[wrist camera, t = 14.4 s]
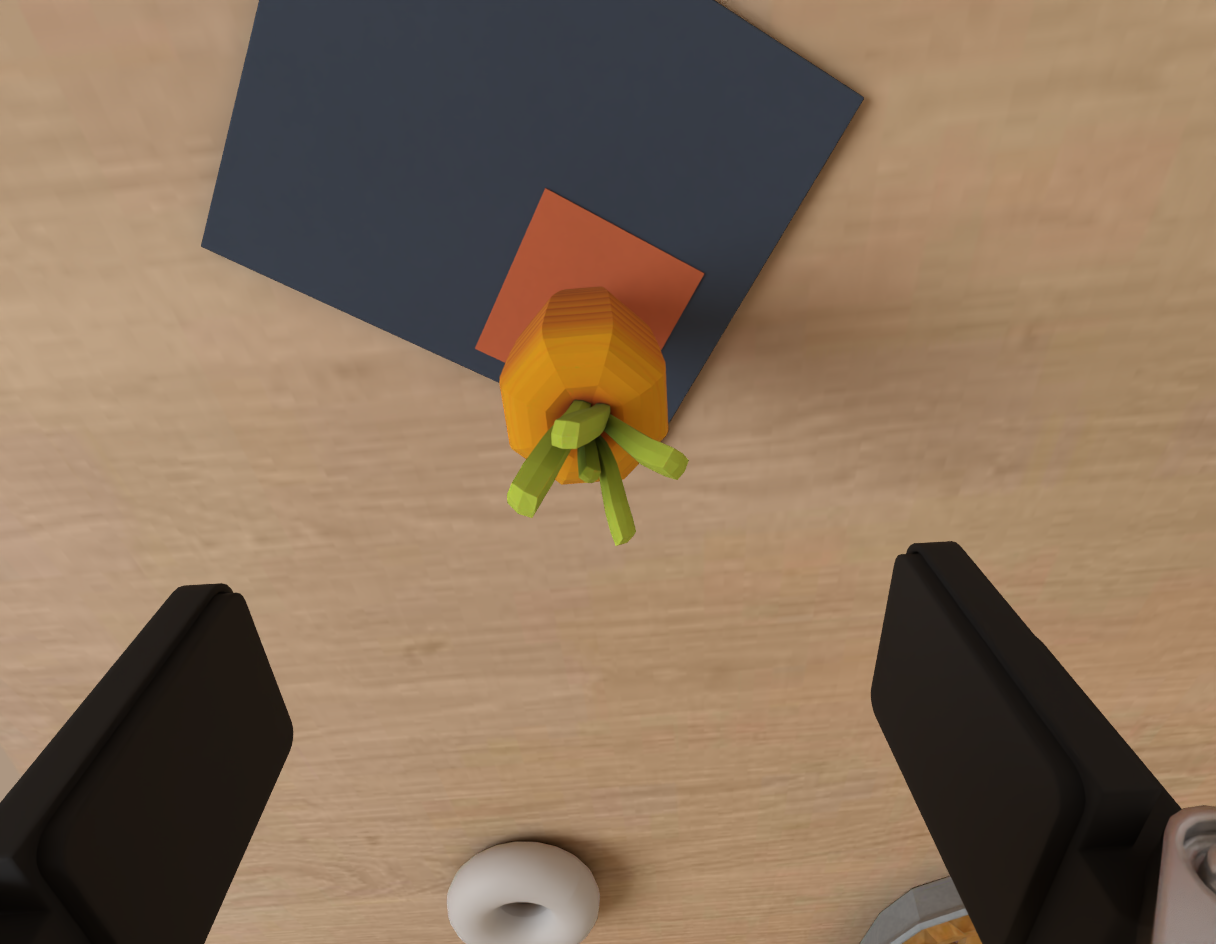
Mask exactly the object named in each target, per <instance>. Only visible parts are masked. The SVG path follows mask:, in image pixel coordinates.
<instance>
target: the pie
mask: <svg viewBox="0 0 1216 944" xmlns="http://www.w3.org/2000/svg"><path fill="white" fill-rule="evenodd" d="M860 944H982V942H981V940H980V938H979V936H978V934H977V932H976V930H975V928H974V926H973V923H972V921H971V919H970V917H969V915H968V913H967V911H966V908H965V906H964V904H963V902H962V900H961V898H960V896H959V894H958V891H957V889H956V887H955V885H954V883H953V881H952V879H951V876H950V877H946V878H943V879H940V880H937V881H934V882H931V883H928V884H925V885H922V886H919V887H916V888H913V889H911V890H910V891H909V892H907V893H906V894H905V895H903V896H902V897H901V898H899V899H898V900H897V901H895V902H894V903H893V904H891V905H890V906H889V907H887V908H886V909H885V910H883V911H882V912H881V913H880V914H879V915H878V917H877V918H876V920H875V921H874V923H873V924H872V926H871V927H870V929H869V930H868V932H867V933H866V935H865V937H864V938H863V940H862V941H861V943H860Z"/></svg>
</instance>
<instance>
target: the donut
mask: <svg viewBox="0 0 1216 944" xmlns="http://www.w3.org/2000/svg"><path fill="white" fill-rule="evenodd" d="M523 902H529V903H523ZM599 902H600V893H599V888H598V886H597V884H596V881H595V879H594V877H593V875H592V873H591V871H590V869H589V868H588V867H587V866H586V865H585V864H584V863H583V862H581V861H580V860H579V859H578V858H577V857H576V856H574V855H573V854H571V853H569V852H567V851H565V850H563V849H561V848H559V847H557V846H553V845H548V844H544V843H539V842H511V843H505V844H500V845H495V846H493V847H491V848H488V849H486V850H484V851H482V852H479V853H478V854H476V855H474V856H473V857H472V858H471V859H469V860H468V861H467V862H466V863H465V864H464V865H462V866H461V867H460V869H459V870H458V871H457V873H456V875H455V877H454V879H453V881H452V883H451V885H450V888H449V891H448V894H447V907H448V917H449V920H450V924H451V925H452V927H453V928H454V930H455V931H456V933H457V935H458V936H459V937H460V938H461V940H462V941H464V942H465V943H466V944H579V943H580V942H582V941H583V940H584V939H585V938H586V937H587V935H588V934H589V932H590V931H591V929H592V928H593V926H594V925H595V922H596V920H597V918H598V912H599Z"/></svg>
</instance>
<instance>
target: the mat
mask: <svg viewBox="0 0 1216 944" xmlns="http://www.w3.org/2000/svg"><path fill="white" fill-rule="evenodd" d="M863 99H864V97H863V96H861V95H860V94H858V93H857V92H855V91H853V90H852V89H850V88H849V87H847V86H846V85H844V84H843V83H841V82H840V81H838V80H837V79H835V78H833V77H832V76H830V75H829V74H827V73H826V72H824V71H823V70H821V69H820V68H818V67H816V66H815V65H813V64H812V63H810V62H809V61H807V60H806V59H804V58H803V57H801V56H799V55H798V54H796V53H795V52H793V51H792V50H790V49H789V48H787V47H786V46H784V45H782V44H781V43H779V42H778V41H776V40H775V39H773V38H772V37H770V36H769V35H767V34H765V33H764V32H762V31H761V30H759V29H758V28H756V27H755V26H753V25H752V24H750V23H749V22H747V21H745V20H744V19H742V18H741V17H739V16H738V15H736V14H735V13H733V12H732V11H730V10H728V9H727V8H725V7H724V6H722V5H721V4H719V3H718V2H716V1H715V0H259V3H258V8H257V12H256V16H255V20H254V25H253V29H252V33H251V37H250V41H249V46H248V50H247V54H246V58H245V63H244V67H243V71H242V75H241V79H240V84H239V88H238V92H237V96H236V101H235V105H234V109H233V113H232V117H231V122H230V126H229V130H228V134H227V139H226V143H225V147H224V151H223V155H222V160H221V164H220V168H219V172H218V177H217V181H216V185H215V189H214V193H213V198H212V202H211V206H210V210H209V215H208V219H207V223H206V227H205V231H204V236H203V240H202V244H201V246H202V247H203V248H205V249H208V250H210V251H212V252H214V253H216V254H218V255H221V256H223V257H225V258H227V259H229V260H232V261H234V262H236V263H238V264H240V265H243V266H245V267H247V268H249V269H251V270H253V271H256V272H258V273H260V274H262V275H264V276H267V277H269V278H271V279H273V280H275V281H278V282H280V283H282V284H284V285H286V286H288V287H291V288H293V289H295V290H297V291H299V292H302V293H304V294H306V295H308V296H310V297H313V298H315V299H317V300H319V301H321V302H323V303H326V304H328V305H330V306H332V307H334V308H337V309H339V310H341V311H343V312H345V313H348V314H350V315H352V316H354V317H356V318H358V319H361V320H363V321H365V322H367V323H369V324H372V325H374V326H376V327H378V328H380V329H383V330H385V331H387V332H389V333H391V334H394V335H396V336H398V337H400V338H402V339H404V340H407V341H409V342H411V343H413V344H415V345H418V346H420V347H422V348H424V349H426V350H429V351H431V352H433V353H435V354H437V355H439V356H442V357H444V358H446V359H448V360H450V361H453V362H455V363H457V364H459V365H461V366H464V367H466V368H468V369H470V370H472V371H474V372H477V373H479V374H481V375H483V376H485V377H488V378H490V379H492V380H494V381H496V382H499V381H500V375H501V373H502V370H503V368H504V365H505V363H506V360H507V358H508V356H509V354H510V352H511V350H512V348H513V346H514V344H515V342H516V340H517V338H518V337H519V336H520V335H521V333H522V332H523V331H524V330H525V328H526V327H527V326H528V325H529V323H530V322H531V321H532V320H533V318H534V317H535V316H536V315H537V314H538V312H539V311H540V310H541V309H542V307H543V306H544V305H545V304H546V302H547V301H548V300H549V299H550V297H551V296H552V295H554V294H555V293H556V292H558V291H561V290H565V289H576V288H587V287H599V286H601V287H604V288H605V289H607V290H608V291H609V292H610V293H611V294H612V295H614V296H615V297H616V298H617V299H618V300H619V301H621V302H622V303H623V304H624V305H625V306H627V307H628V308H629V309H630V310H631V311H632V312H634V313H635V314H636V315H637V316H638V317H639V318H641V319H642V320H643V321H644V322H645V323H646V324H647V325H648V326H649V327H650V328H651V330H652V332H653V334H654V336H655V338H656V340H657V342H658V345H659V347H660V350H661V353H662V355H663V358H664V360H665V364H666V387H667V409H668V424H669V422H670V421H671V419H672V417H673V416H674V414H675V412H676V411H677V409H678V407H679V406H680V404H681V402H682V401H683V399H684V397H685V396H686V394H687V392H688V391H689V389H690V387H691V386H692V384H693V382H694V381H695V379H696V377H697V376H698V374H699V372H700V371H701V369H702V367H703V366H704V364H705V362H706V361H707V359H708V357H709V356H710V354H711V352H712V351H713V349H714V347H715V346H716V344H717V343H718V341H719V339H720V338H721V336H722V334H723V333H724V331H725V329H726V328H727V326H728V324H729V323H730V321H731V319H732V318H733V316H734V314H735V313H736V311H737V309H738V308H739V306H740V304H741V303H742V301H743V299H744V298H745V296H746V294H747V293H748V291H749V289H750V288H751V286H752V284H753V283H754V281H755V279H756V278H757V276H758V274H759V273H760V271H761V269H762V268H763V266H764V264H765V263H766V261H767V259H768V258H769V256H770V254H771V253H772V251H773V249H774V248H775V246H776V244H777V243H778V241H779V239H780V238H781V236H782V234H783V233H784V231H785V229H786V228H787V226H788V224H789V223H790V221H791V219H792V218H793V216H794V214H795V213H796V211H797V209H798V208H799V206H800V204H801V203H802V201H803V199H804V198H805V196H806V194H807V193H808V191H809V189H810V188H811V186H812V184H813V183H814V181H815V179H816V178H817V176H818V174H819V173H820V171H821V169H822V168H823V166H824V164H825V163H826V161H827V159H828V158H829V156H830V154H831V153H832V151H833V149H834V148H835V146H836V144H837V143H838V141H839V139H840V138H841V136H842V134H843V133H844V131H845V129H846V128H847V126H848V124H849V123H850V121H851V119H852V118H853V116H854V114H855V113H856V111H857V109H858V108H859V106H860V104H861V103H862V101H863Z"/></svg>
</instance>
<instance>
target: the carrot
mask: <svg viewBox="0 0 1216 944" xmlns="http://www.w3.org/2000/svg"><path fill="white" fill-rule="evenodd" d="M499 383H500V389H501V395H502V401H503V407H504V413H505V419H506V425H507V432H508V438H509V444H510V446H511V448H512V449H513V450H514V451H516V452H517V453H518V454H520V455H521V456H523V457H524V458H525V459H526V461H525V462H524V463H523V465H522V467H521V469H520V470H519V472H518V474H517V475H516V477H515V479H514V480H513V482H512V484H511V486H510V489H509V491H508V493H507V502H508V504H509V505H510V506H511V507H512V508H513V509H514V510H515V511H516V512H517V513H518V514H521V515H524V516H527V517H531V518H532V517H533V516H534V514H535V512H536V511H537V509H538V507H539V506H540V504H541V502H542V501H543V499H544V497H545V496H546V494H547V492H548V491H549V489H550V487H551V486H552V484H553V482H554V480H556V481H558V482H559V483H560V484H574V483H594V482H598V481H600V485H601V491H602V496H603V502H604V508H605V513H606V517H607V521H608V524H609V528H610V532H611V534H612V537H613V540H614V542H615V545H616V546H617V545H621V544H624V543H627V542H628V541H629V540H630V539H631V538H632V537H633V536H634V534H635V532H636V530H635V525H634V521H633V517H632V514H631V511H630V507H629V504H628V501H627V497H626V494H625V490H624V486H623V483H622V479H625V478H626V477H627V476H628V474H629V473H630V472H631V471H632V470H633V469H634V468H635V467H636V466H637V465H638V464H639V463H640V464H641V465H643V466H645V467H647V468H649V469H651V470H653V471H655V472H657V473H659V474H661V475H663V476H666V477H669V478H672V479H676V480H678V479H679V477H680V476H681V475H682V474H683V473H684V471H685V469H686V466H687V464H688V461H689V460H688V459H687V458H686V457H685V456H684V454H682V453H681V452H679V451H678V450H676V449H674V448H672V447H670V446H668V445H666V444H663V443H661V442H660V441H661V440H662V439H663V438H664V437H665V436H666V435H667V433H668V409H667V387H666V364H665V360H664V358H663V355H662V353H661V350H660V347H659V345H658V342H657V340H656V338H655V336H654V334H653V332H652V330H651V328H650V327H649V326H648V325H647V324H646V323H645V322H644V321H643V320H642V319H641V318H639V317H638V316H637V315H636V314H635V313H634V312H632V311H631V310H630V309H629V308H628V307H627V306H625V305H624V304H623V303H622V302H621V301H619V300H618V299H617V298H616V297H615V296H614V295H612V294H611V293H610V292H609V291H608V290H607V289H605V288H604V287H601V286H599V287H587V288H576V289H565V290H561V291H558V292H556V293H555V294H554V295H552V296H551V297H550V299H549V300H548V301H547V302H546V304H545V305H544V306H543V307H542V309H541V310H540V311H539V312H538V314H537V315H536V316H535V317H534V318H533V320H532V321H531V322H530V323H529V325H528V326H527V327H526V328H525V330H524V331H523V332H522V333H521V335H520V336H519V337H518V338H517V340H516V342H515V344H514V346H513V348H512V350H511V352H510V354H509V356H508V358H507V360H506V363H505V365H504V368H503V370H502V373H501V375H500V381H499Z"/></svg>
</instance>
